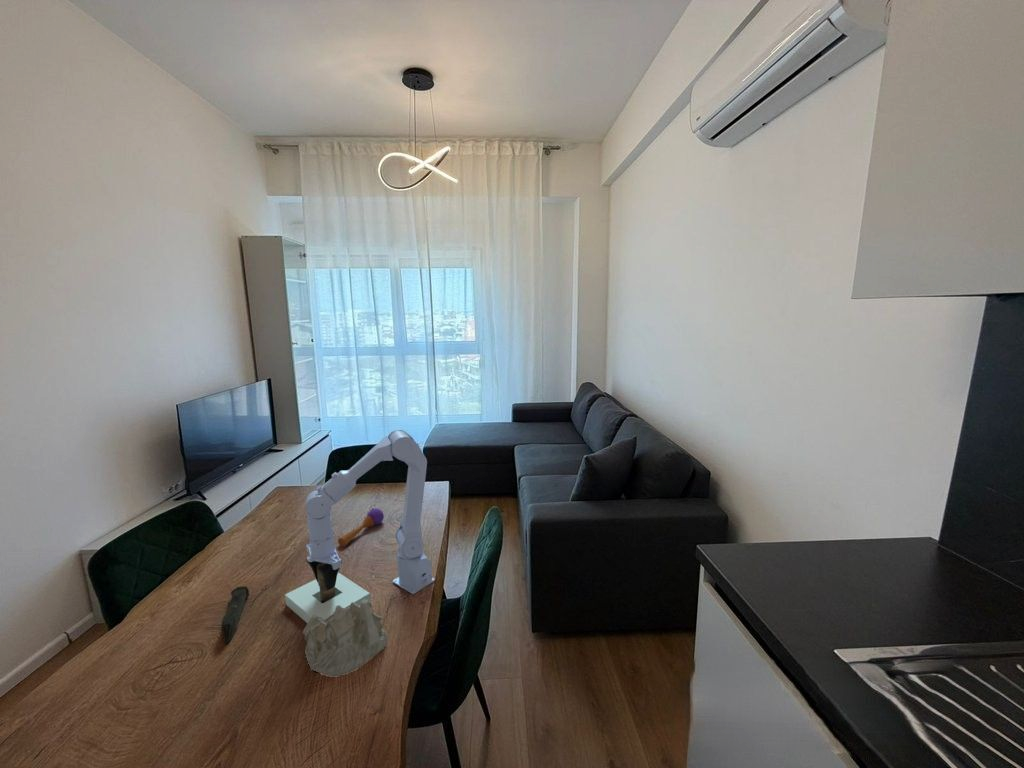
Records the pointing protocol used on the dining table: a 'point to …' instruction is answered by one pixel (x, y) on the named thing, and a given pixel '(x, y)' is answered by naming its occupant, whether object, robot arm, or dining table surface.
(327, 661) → the pale grey lumpy mound
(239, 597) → the hand tool
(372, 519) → the kendama
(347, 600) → the sage board
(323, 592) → the walnut peg
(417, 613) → the dining table surface
